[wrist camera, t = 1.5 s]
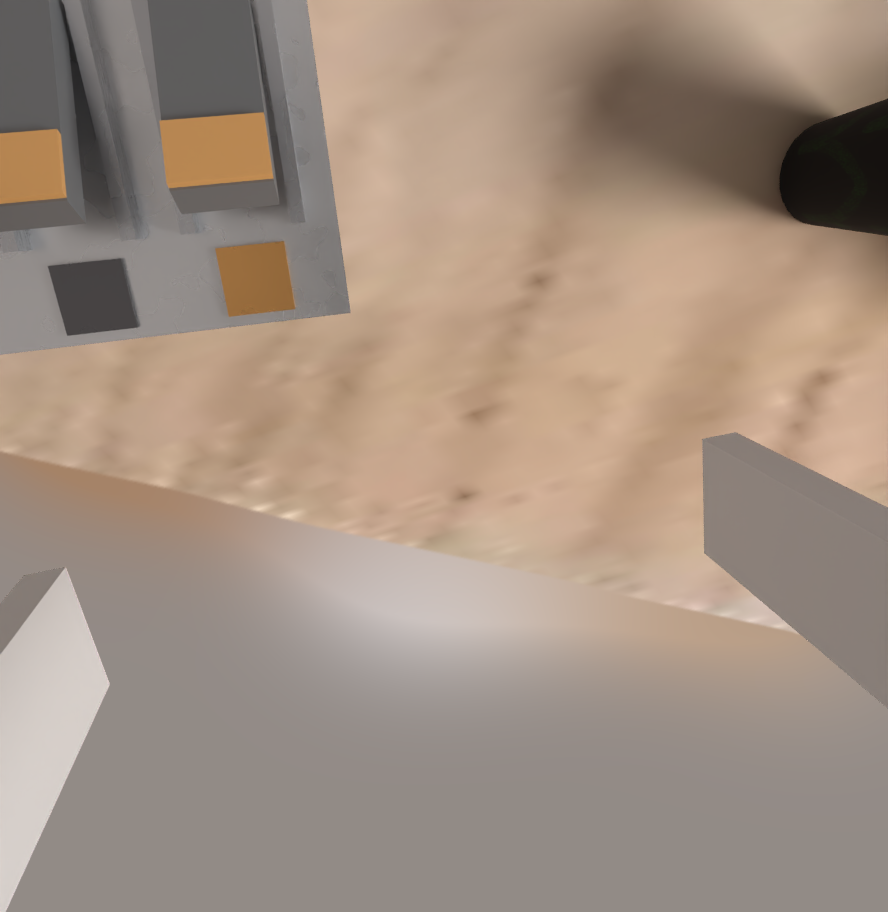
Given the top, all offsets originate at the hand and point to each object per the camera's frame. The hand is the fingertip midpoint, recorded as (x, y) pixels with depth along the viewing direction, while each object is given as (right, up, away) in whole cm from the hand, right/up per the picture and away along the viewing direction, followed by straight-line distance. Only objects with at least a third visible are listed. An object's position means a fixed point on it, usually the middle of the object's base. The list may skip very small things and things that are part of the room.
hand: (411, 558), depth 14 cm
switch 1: (-15, +15, +11) cm, 24 cm away
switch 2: (-8, +16, +12) cm, 21 cm away
